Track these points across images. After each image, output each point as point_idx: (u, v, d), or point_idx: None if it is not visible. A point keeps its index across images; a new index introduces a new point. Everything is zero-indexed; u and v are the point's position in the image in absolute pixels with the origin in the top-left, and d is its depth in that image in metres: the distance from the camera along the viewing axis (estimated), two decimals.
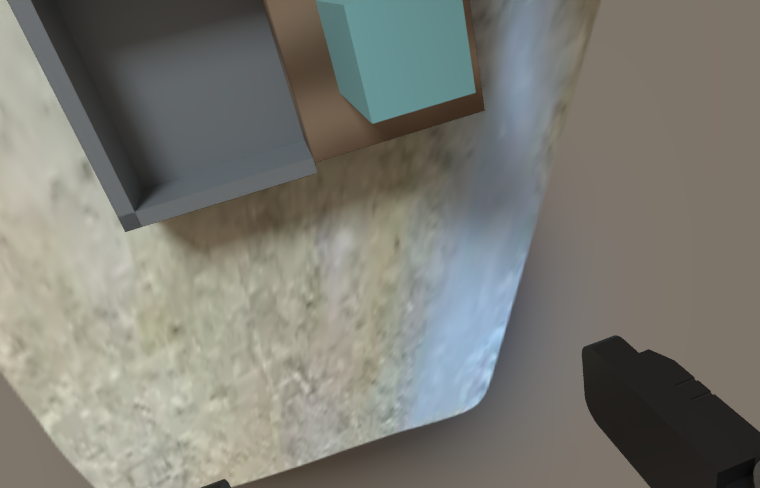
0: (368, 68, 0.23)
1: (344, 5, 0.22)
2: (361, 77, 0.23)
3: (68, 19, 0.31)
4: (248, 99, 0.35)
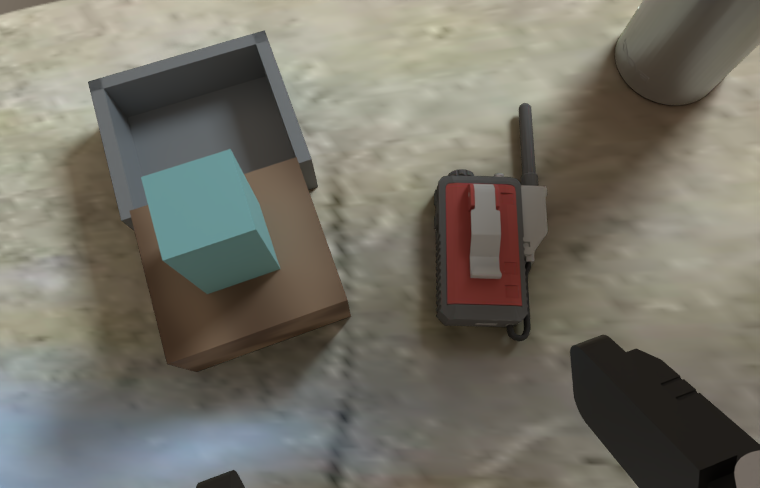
0: (185, 170, 0.30)
1: (230, 150, 0.30)
2: (178, 166, 0.30)
3: (250, 82, 0.47)
4: None
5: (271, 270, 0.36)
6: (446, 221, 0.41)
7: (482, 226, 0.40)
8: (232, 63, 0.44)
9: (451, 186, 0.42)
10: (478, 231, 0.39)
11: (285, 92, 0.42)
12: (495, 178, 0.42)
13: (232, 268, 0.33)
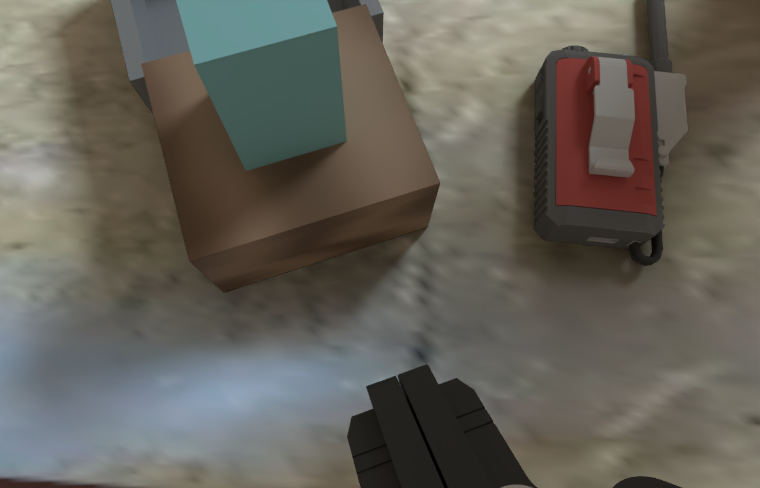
0: None
1: None
2: None
3: None
4: None
5: (335, 142, 0.26)
6: (556, 104, 0.31)
7: (610, 106, 0.30)
8: None
9: (564, 62, 0.32)
10: (604, 112, 0.30)
11: None
12: (622, 56, 0.32)
13: (287, 120, 0.23)
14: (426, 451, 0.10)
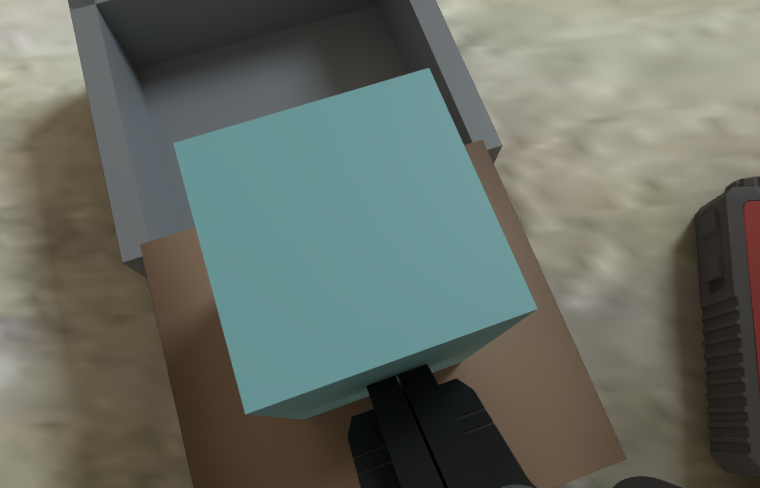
0: (303, 124, 0.10)
1: (428, 71, 0.11)
2: (282, 114, 0.10)
3: (352, 14, 0.27)
4: None
5: (446, 367, 0.16)
6: (749, 273, 0.21)
7: None
8: None
9: (756, 206, 0.22)
10: None
11: (440, 18, 0.22)
12: None
13: None
14: (426, 451, 0.10)
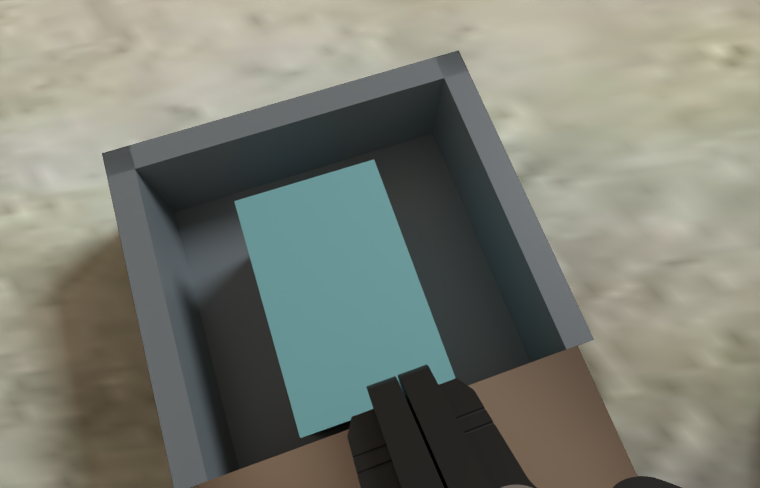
0: None
1: None
2: None
3: (405, 145, 0.25)
4: None
5: (437, 380, 0.17)
6: None
7: None
8: (388, 114, 0.22)
9: None
10: None
11: (517, 182, 0.20)
12: None
13: (347, 309, 0.17)
14: (426, 451, 0.10)
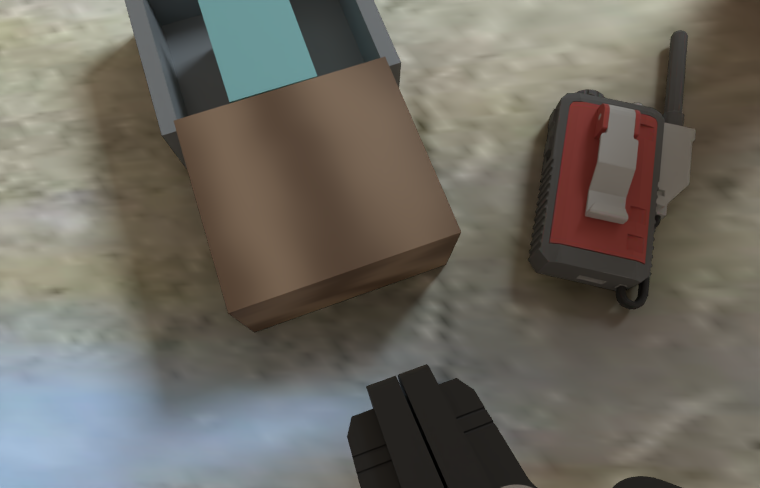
0: None
1: None
2: None
3: None
4: None
5: (306, 75, 0.30)
6: (564, 145, 0.33)
7: (613, 154, 0.31)
8: None
9: (577, 105, 0.34)
10: (607, 159, 0.31)
11: None
12: (634, 106, 0.34)
13: (258, 42, 0.31)
14: (426, 451, 0.10)
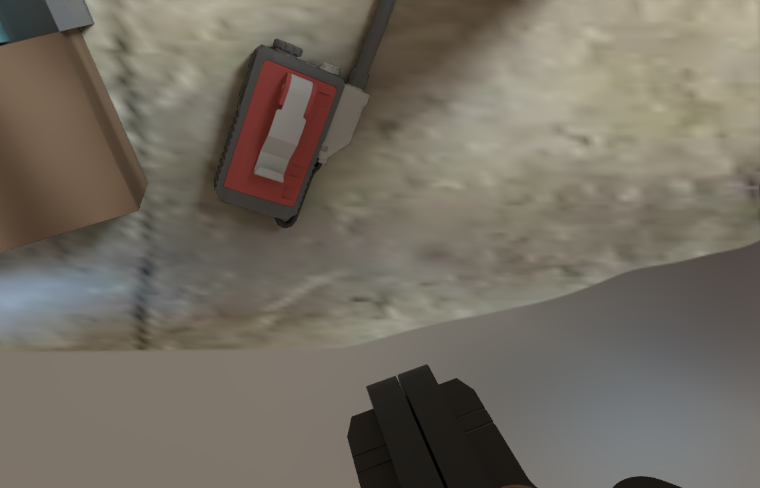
0: None
1: None
2: None
3: None
4: None
5: None
6: (250, 102, 0.38)
7: (282, 131, 0.38)
8: None
9: (269, 65, 0.37)
10: (276, 134, 0.38)
11: None
12: (320, 72, 0.38)
13: None
14: (426, 451, 0.10)
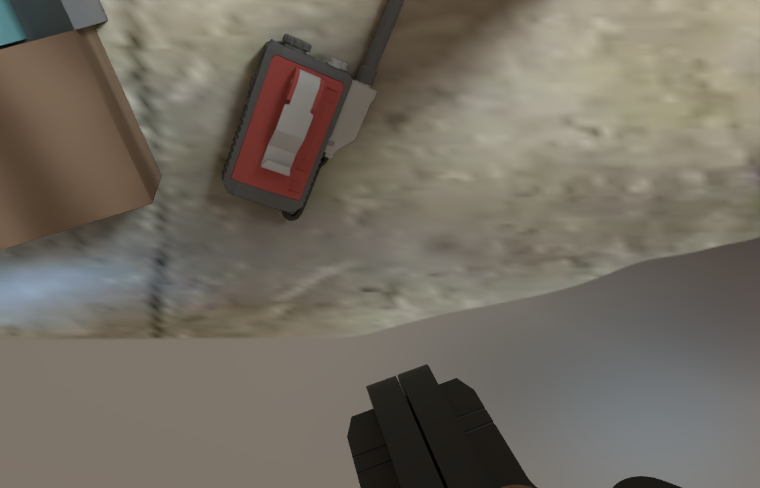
0: None
1: None
2: None
3: None
4: None
5: None
6: (259, 96, 0.38)
7: (289, 125, 0.38)
8: None
9: (278, 60, 0.38)
10: (283, 129, 0.38)
11: None
12: (328, 68, 0.39)
13: None
14: (426, 451, 0.10)
